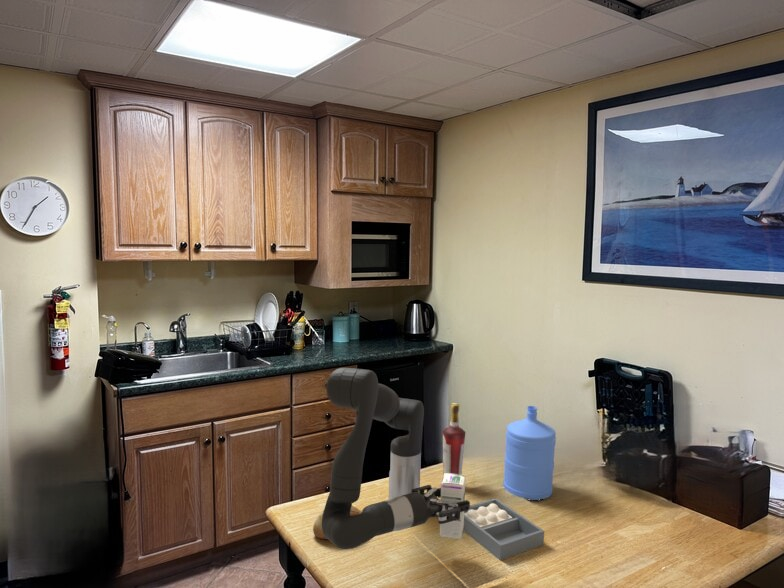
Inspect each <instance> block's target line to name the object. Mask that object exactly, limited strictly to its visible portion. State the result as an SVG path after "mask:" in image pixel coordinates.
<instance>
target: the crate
mask: <svg viewBox="0 0 784 588" xmlns="http://www.w3.org/2000/svg"><path fill="white" fill-rule="evenodd" d="M492 503H494V504H496V505H497V506H498V508H500V509H501V510H505V511H506V512H507V514H508V515H510V516H511V517H512V519H510V520H507V521H504V522H501V523H497V524H494V525H491V526H488V527H484V528H481V527H480V526H478V525H477V524H476V523H474V522H473V521H472V520H470V519H469V518H468V517H467V516H465V515H464V528H463V533H464V532H465V533H466V534H467V535H468V536H469V537H471V539H473V540H474V541H475V542H477V543H478V544H479V545H480V546H482V547H483V548H484V549H485V550H486V551H488V552H489V553H490V554H492V556H494V557H495V558H496V559H497V560H498V561H502V560H505V559H509V558H511V557H514V556H517V555H520V554H523V553H524V552H525V553H526V552H527V551H531V550H533V549H537V548H539V547H542V546H544V540H545V530H544V529H542V528H541V527H539V526H537V525H536V524H535V523H533V522H532V521H530V520H529V519H527V518H526V517H525V516H523V515H521V514H520V513H519V512H517V511H516V510H514V509H512V508H511V507H510V506H508V505H507V504H505V503H503V502H502V501H500V500H499V499H498V498H497V497H496V498H491V499H487V500H484V501H480V502H477V503H473V504H470V508H469V510H471V509H473V510H477V509H478V508H479V507H481V506H484V507H488V506H489V505H490V504H492ZM469 510H467V511H464V513H467V512H468V511H469Z"/></svg>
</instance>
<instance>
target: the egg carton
mask: <svg viewBox="0 0 784 588" xmlns="http://www.w3.org/2000/svg"><path fill="white" fill-rule="evenodd" d="M464 515H465V516H467V517H468V518H469V519H470V520H472V521H473V522H474V523H476V524H477V525H478V526H480V527H481V528H484V527H488V526H491V525H494V524H497V523H501V522H504V521H507V520H510V519H512V517H511V516H510V515H508V514H507V512H506V511H505V510H501V509H500V508H498V506H497V505H496V504H494V503H492V504H490V505H489V506H488V507H484V506H481V507H479V508H478V509H477V510H473V509H471V510H469V511H468V512H467V513H464Z"/></svg>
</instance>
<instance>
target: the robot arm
mask: <svg viewBox="0 0 784 588" xmlns="http://www.w3.org/2000/svg"><path fill="white" fill-rule="evenodd" d="M326 394H327V397H328V399H329V401H330V402H331V403H332V404H333V405H334V406H336V407H339V408H344V409H346V408H347V409H353V410H354V411H355V412H357V416H356V419H355V424H354V426H353V428H352V430H351V432H350V433H349V435H348V436H347V438H346V439H345V441H344V442H343V444H342V445H341V446H340V448H339V449H338V451H337V452H336V454H335V456H334V459H333V461H332V466H331V473H330V482H329V484H330V486H329V493H328V496H327V498H326V503H325V506H324V508H323V510H324V512H323V516H322V531H323V534H324V536H325V537H326V538H327V539H326V540H328V541H329V542H330V543H331V544H333V545H334V546H335V548H338V549H340V550H350V549H351V550H352V549H354V548H358V547H360V546H362V545H364V544H365V543H367V542H369V541H370V540H372V539H373V538H375V537H377V536H382V535H385V534H389V533H393V532H399V531H404V530H407V529H411V528H414V527H417V526H421V525H424V524H425V523H426V522H427V521H428V520H429V519H430V518H436V519H437V520H438V521H437V522H438V524H439V525H440V524H444V523H448V522H451V521H455V520H459V519H460V512H463V511H467V510H469V508H470V505H471V503H470V501H469V499H468V500H467V499H465V501H462V502H458V503H456V504H454V503H449V502H448V501H441V487H435V486H434V487H432V485H431V484H427V485H426V484H425V485H424V486H421V463H422V461H421V459H422V458H421V457H422V443H423V442H422V441H423V430H424V429H423V426H424V418H425V417H424V416H425V413H424V412H425V407H424V404H423V402H422V401H421V400H417V399H410V398H403V397H399V395H398V394H397V393H396V391H395V390H393V389H392V388H390V387H389V386H387V385H385V384H382V383H379V380H378V376H377V373H376V372H374V371H373V370H370V369H363V368H354V367H353V368H352V367H339V368H336V369H335V370H333V371H332V372H331V373H330V375H329V376H328V378H327V381H326ZM374 420H376V421H379V422H384V423H385V424H386V425H387V426H389V427H390V428H393V429H396V430H401V431H403V430H404V431H408V434H406V435H403V436H402V435H401V436H397V437H396V438H394V439H392V440H391V443H390V465H389V466H390V468H389V469H390V470H389V472H388V475H389V476H388V499H386V500H383V501H379V502H375V503H371V504H369V505H366V506H365V507H364V508H363V509H362V510H361V512H362V513H361V514H358V515H354V516H351V515H350V511H351V506H353V504H354V503H356V502H357V501H358V500H359V499H360V496H361V489H362V479H363V467H364V459H365V454H366V450H367V449H366V448H367V445H368V441H369V437H370V433H371V429H372V424H373V421H374ZM425 491H426V492H425ZM439 498H440V499H439ZM443 505H444V506H445V511H444V510H442V509H443ZM449 507H452V508H453V509H449V510H448V508H449ZM441 511H442V512H441ZM453 515H455V516H453Z"/></svg>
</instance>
